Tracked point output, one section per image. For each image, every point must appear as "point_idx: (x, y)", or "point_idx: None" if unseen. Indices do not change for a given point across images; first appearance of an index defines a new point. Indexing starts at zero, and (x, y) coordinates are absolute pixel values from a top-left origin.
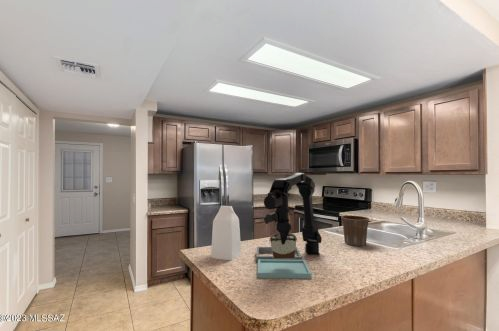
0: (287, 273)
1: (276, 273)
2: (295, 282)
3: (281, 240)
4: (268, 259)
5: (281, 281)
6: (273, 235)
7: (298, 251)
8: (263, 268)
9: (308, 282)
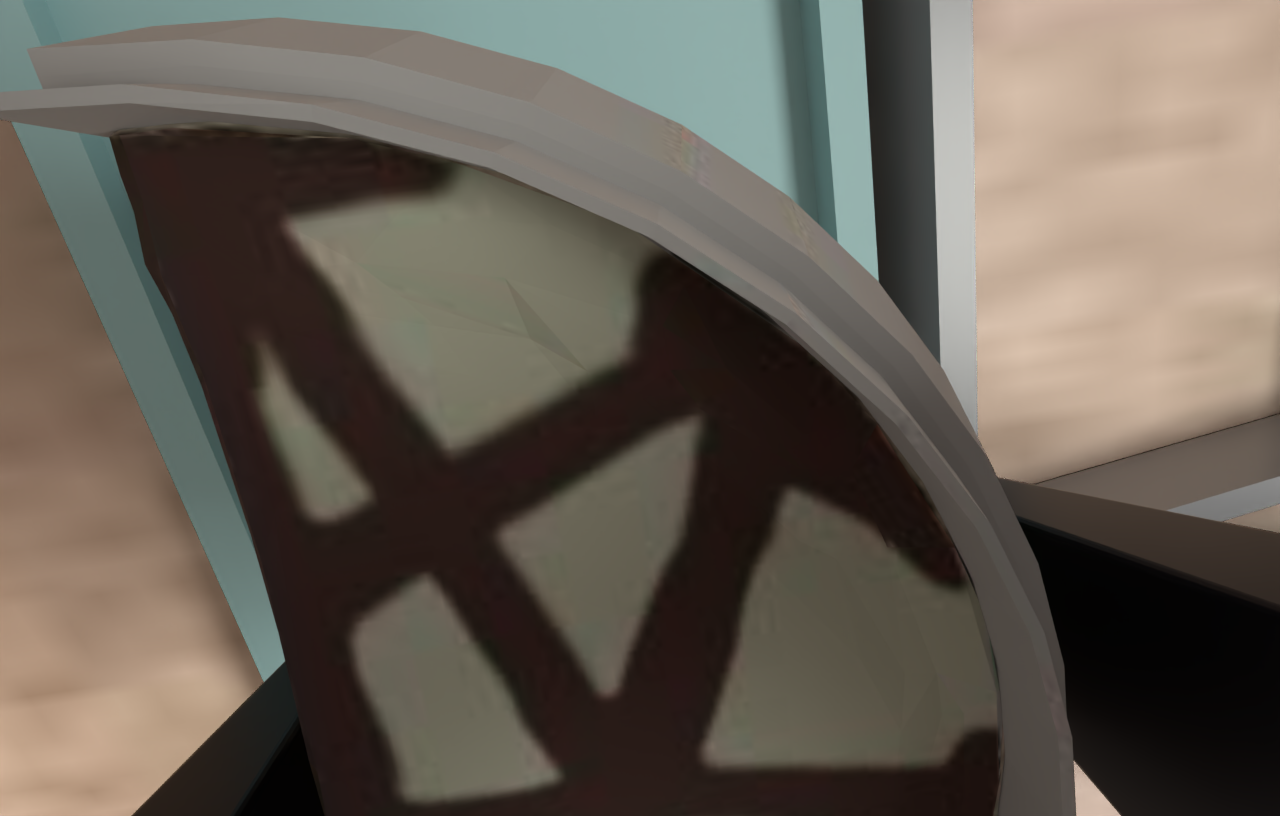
0: (176, 482)
1: (87, 286)
2: (77, 585)
3: (198, 768)
4: None
5: (6, 378)
6: (709, 275)
7: (1219, 508)
8: None
9: (166, 736)
